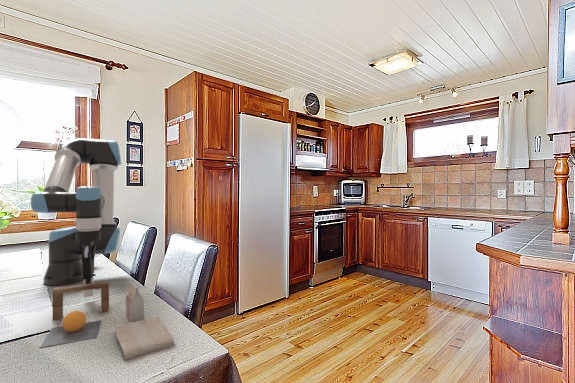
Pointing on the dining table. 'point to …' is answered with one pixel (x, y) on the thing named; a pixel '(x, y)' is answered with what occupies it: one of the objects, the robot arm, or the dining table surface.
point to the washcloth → (142, 337)
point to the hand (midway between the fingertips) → (88, 295)
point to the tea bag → (134, 305)
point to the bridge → (60, 290)
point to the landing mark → (71, 334)
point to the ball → (74, 321)
